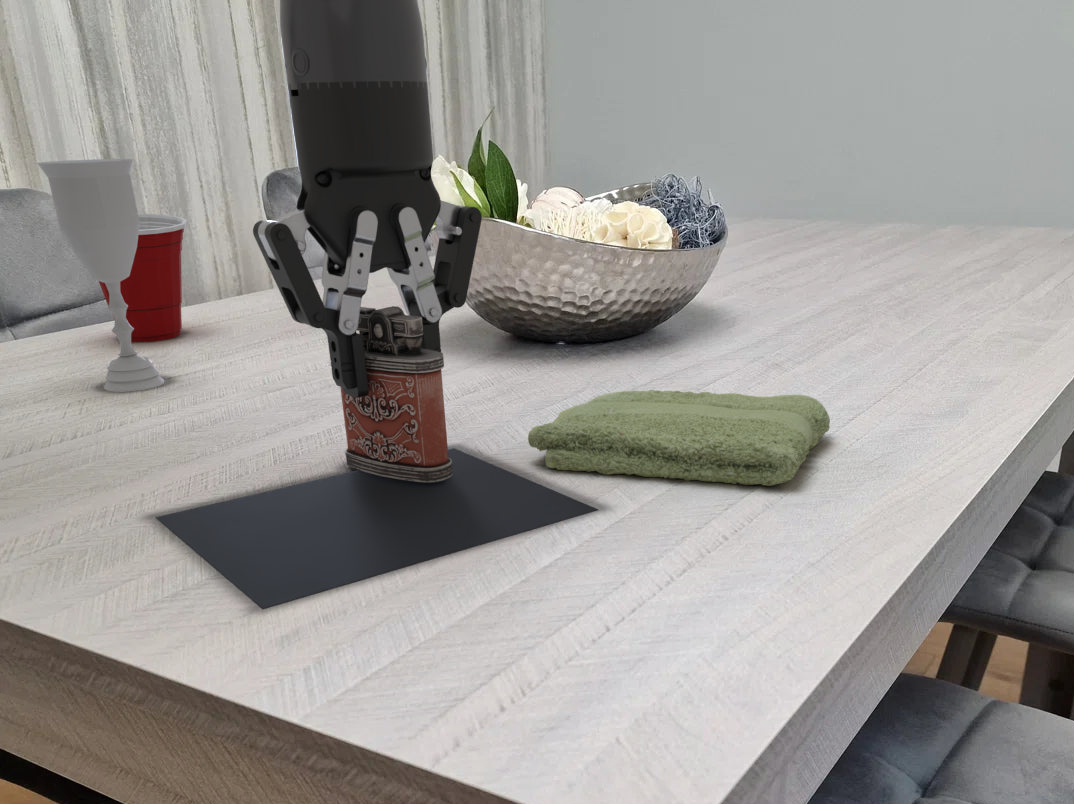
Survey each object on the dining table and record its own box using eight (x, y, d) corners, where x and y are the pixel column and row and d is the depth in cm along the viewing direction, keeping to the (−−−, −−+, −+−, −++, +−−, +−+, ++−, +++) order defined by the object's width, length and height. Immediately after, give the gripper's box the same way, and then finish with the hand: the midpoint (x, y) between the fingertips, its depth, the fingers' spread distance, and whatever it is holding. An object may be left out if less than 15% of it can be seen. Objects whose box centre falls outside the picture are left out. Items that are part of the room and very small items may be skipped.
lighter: (464, 471, 66) (452, 309, 61) (428, 486, 63) (413, 318, 59) (371, 452, 70) (354, 298, 65) (334, 465, 67) (313, 306, 63)
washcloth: (595, 418, 78) (594, 375, 76) (832, 438, 72) (836, 392, 70) (520, 471, 67) (517, 422, 66) (792, 500, 61) (795, 447, 59)
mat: (263, 612, 49) (262, 608, 49) (155, 520, 60) (155, 517, 60) (598, 512, 60) (598, 509, 60) (454, 450, 71) (454, 447, 71)
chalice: (133, 374, 94) (87, 159, 87) (195, 378, 92) (153, 158, 84) (71, 394, 88) (16, 163, 80) (136, 399, 86) (85, 163, 78)
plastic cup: (126, 353, 103) (98, 225, 97) (80, 340, 109) (51, 219, 104) (226, 336, 110) (206, 215, 105) (177, 324, 116) (155, 210, 111)
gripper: (435, 79, 63) (457, 361, 71) (203, 79, 55) (254, 397, 63) (504, 75, 58) (520, 380, 65) (258, 74, 50) (307, 422, 57)
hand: (389, 387), depth 64 cm, fingers closed on lighter, 4 cm apart
